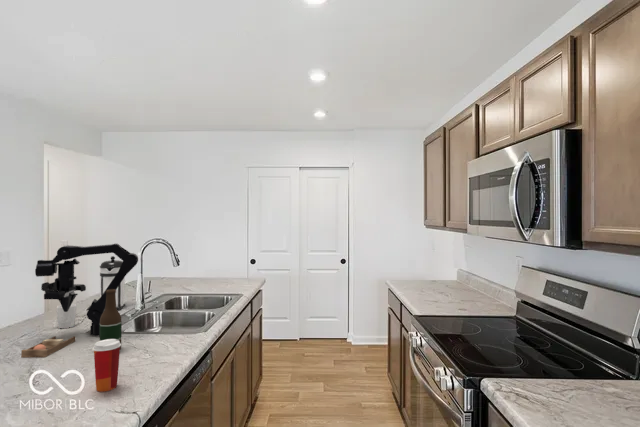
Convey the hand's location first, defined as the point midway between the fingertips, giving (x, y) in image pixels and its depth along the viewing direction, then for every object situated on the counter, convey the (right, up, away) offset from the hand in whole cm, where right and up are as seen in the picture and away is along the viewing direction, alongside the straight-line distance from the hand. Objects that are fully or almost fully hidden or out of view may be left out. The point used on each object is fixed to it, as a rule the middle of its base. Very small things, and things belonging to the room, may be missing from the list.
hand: (65, 311), depth 159 cm
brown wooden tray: (+3, -12, -13) cm, 18 cm away
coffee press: (-10, -13, +54) cm, 56 cm away
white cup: (-12, -12, +19) cm, 26 cm away
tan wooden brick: (+4, -11, -12) cm, 17 cm away
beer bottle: (+26, -12, -13) cm, 32 cm away
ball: (+2, -10, -18) cm, 21 cm away
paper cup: (+43, -12, -44) cm, 63 cm away
